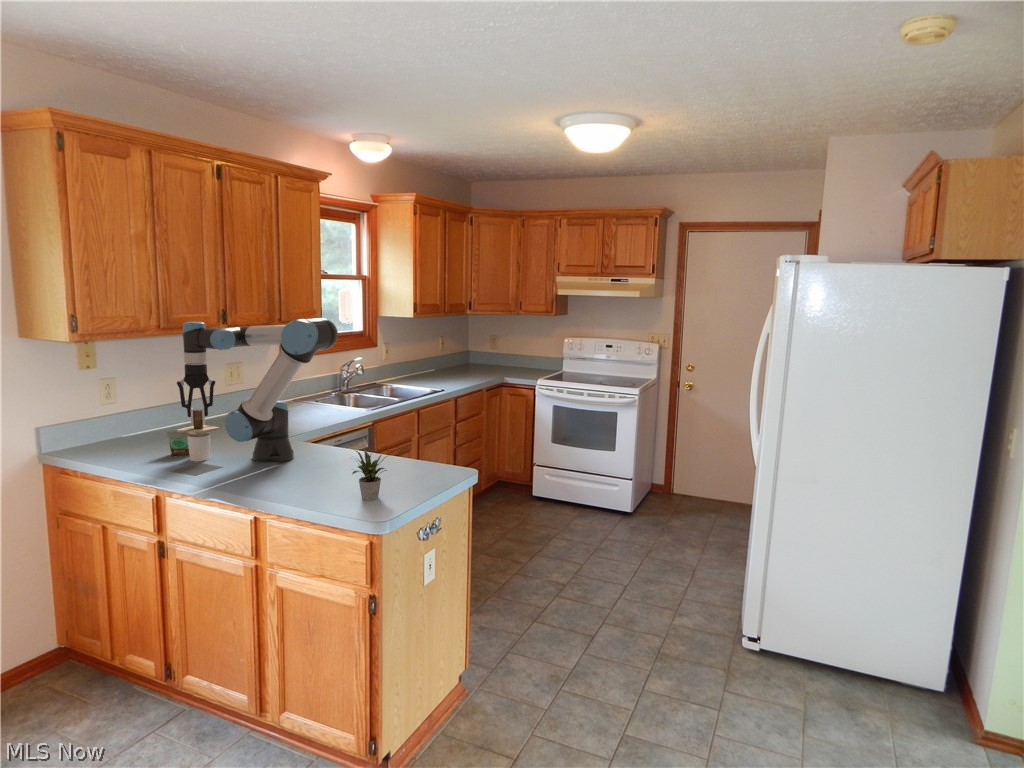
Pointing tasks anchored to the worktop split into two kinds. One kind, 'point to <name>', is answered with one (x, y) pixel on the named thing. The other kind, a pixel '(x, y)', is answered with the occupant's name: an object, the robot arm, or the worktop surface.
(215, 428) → the lid
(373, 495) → the house plant
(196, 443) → the white cup
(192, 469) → the mat
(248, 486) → the worktop surface
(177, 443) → the food container
